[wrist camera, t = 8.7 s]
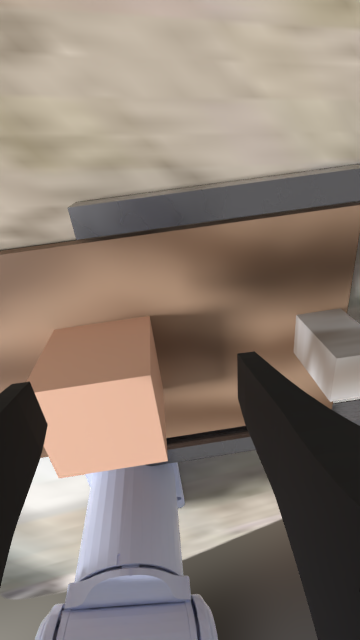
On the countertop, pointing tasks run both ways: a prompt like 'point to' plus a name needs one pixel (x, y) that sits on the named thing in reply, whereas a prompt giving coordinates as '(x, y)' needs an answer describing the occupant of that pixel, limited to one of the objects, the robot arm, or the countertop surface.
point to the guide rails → (213, 206)
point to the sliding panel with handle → (201, 305)
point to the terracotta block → (101, 397)
